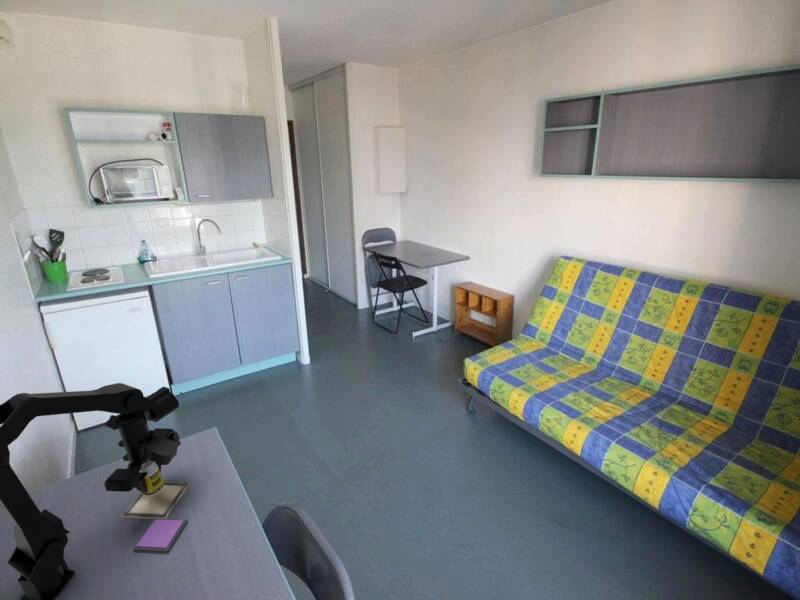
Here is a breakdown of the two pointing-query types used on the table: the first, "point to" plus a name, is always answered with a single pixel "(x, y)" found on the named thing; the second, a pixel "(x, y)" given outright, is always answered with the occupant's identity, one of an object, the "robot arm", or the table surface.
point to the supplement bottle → (152, 478)
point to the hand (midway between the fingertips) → (151, 484)
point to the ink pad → (160, 536)
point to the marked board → (156, 502)
